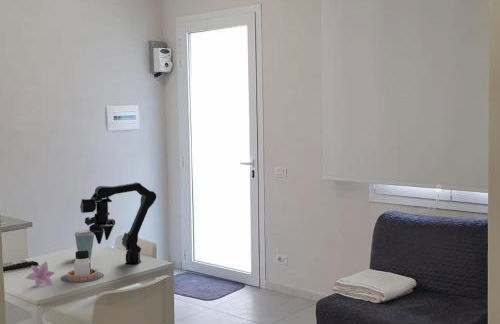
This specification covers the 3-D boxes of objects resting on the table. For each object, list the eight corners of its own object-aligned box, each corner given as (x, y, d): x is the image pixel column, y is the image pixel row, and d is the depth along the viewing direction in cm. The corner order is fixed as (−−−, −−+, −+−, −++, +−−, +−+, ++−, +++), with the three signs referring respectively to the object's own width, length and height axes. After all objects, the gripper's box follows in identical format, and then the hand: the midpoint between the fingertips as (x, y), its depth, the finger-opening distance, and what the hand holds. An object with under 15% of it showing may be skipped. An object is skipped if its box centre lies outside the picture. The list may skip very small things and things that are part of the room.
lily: (21, 290, 265) (26, 274, 261) (28, 274, 275) (32, 258, 271) (48, 296, 268) (53, 280, 264) (54, 280, 278) (59, 264, 274)
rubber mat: (110, 272, 289) (110, 272, 289) (93, 284, 270) (93, 283, 270) (72, 271, 293) (72, 270, 293) (52, 282, 273) (52, 281, 273)
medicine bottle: (90, 277, 279) (89, 252, 278) (74, 278, 277) (73, 253, 276) (90, 273, 286) (90, 248, 285) (75, 274, 284) (74, 249, 283)
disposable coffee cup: (70, 258, 318) (69, 231, 317) (86, 254, 328) (85, 227, 326) (84, 261, 313) (83, 233, 312) (99, 256, 322) (99, 229, 321)
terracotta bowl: (102, 273, 287) (102, 269, 287) (89, 281, 273) (89, 277, 273) (75, 272, 289) (75, 267, 289) (61, 280, 275) (61, 275, 275)
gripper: (95, 207, 309) (95, 237, 310) (78, 214, 290) (79, 245, 291) (115, 208, 307) (116, 238, 308) (100, 214, 288) (101, 246, 290)
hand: (103, 241), depth 299 cm, fingers open, 9 cm apart
